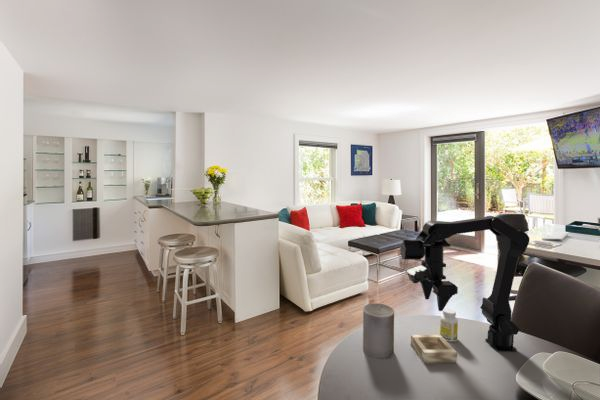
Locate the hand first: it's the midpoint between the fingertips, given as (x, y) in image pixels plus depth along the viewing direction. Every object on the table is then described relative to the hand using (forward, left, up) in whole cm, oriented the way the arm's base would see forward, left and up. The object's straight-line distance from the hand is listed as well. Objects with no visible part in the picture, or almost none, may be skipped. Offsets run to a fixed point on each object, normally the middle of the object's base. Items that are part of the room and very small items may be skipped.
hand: (433, 304), depth 98 cm
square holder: (+3, +6, -13) cm, 15 cm away
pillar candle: (+20, +4, -14) cm, 24 cm away
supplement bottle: (-7, -3, -14) cm, 16 cm away
